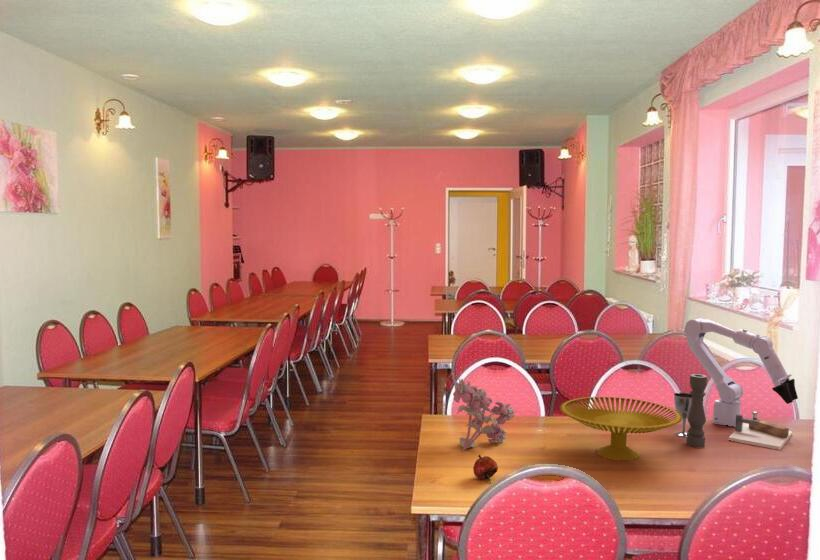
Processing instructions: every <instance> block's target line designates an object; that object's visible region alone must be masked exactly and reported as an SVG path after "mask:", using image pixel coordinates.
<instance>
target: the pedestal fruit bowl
mask: <svg viewBox="0 0 820 560" xmlns="http://www.w3.org/2000/svg"><path fill="white" fill-rule="evenodd" d="M609 398H610V399H609ZM604 399H605V400H604ZM600 401H601V402H600ZM605 401H606V402H605ZM596 402H597V403H596ZM615 402H616V403H615ZM635 402H636V403H635ZM588 403H589V404H588ZM640 403H641V404H640ZM593 404H594V405H593ZM606 404H607V405H606ZM615 404H616V407H615ZM624 404H625V407H624ZM629 404H630V406H629ZM639 404H640V405H639ZM645 404H646V405H645ZM644 405H645V406H644ZM633 407H634V408H633ZM658 407H659V408H658ZM628 408H629V409H628ZM559 410H560V411H561V413H563V414H564V415H565V416H567V417H569V418H571V419H572V420H574V421H575V422H576V421H577V422H579V424H582V425H584V426H586V427H590V428H591V429H595V430H601V432H602V431H603V432H604V431H605V432H609V433H610V444H608V445H606V446H603V447H600V448H598V449H597V450H596V453H597V454H598V455H599V456H600V457H602V458H604V459H609V460H612V461H620V460H630V461H634V459H635V460H638V459H639V458H640V454H639V452H637V451H636V450H634V449H633V448H630V447H629V446H627V437H628V435H627V434H629V433H630V434H635V435H637V434H647V433H653V432H657V431H659V430H663V429H666V428H670V427H673V426H675V425H677V424H680V422H682V417H683V416H682V415H680V414H681V413H678V412H677V411H676V409H674V408H672V407H670V406H667V405H663V404H662V403H660V404H659V403H658V402H653V401H648V400H644V399H637V398H630V397H629V398H627V397H621V396H620V397H617V396H588V397H587V396H586V397H579V398H577V397H576V398H571V399H569V400H565V401H564V402H563V403H561V404H560V405H559ZM637 458H638V459H637Z"/></svg>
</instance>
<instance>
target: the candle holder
mask: <svg viewBox="0 0 820 560" xmlns="http://www.w3.org/2000/svg"><path fill="white" fill-rule="evenodd" d="M689 385H690V388H691V391H689V393H690V394H691V396H692V404H691V407H690V411H689V414H688V418H687V420H686V421H687V422H688V424H689V428H688V429H687V432H688V434H687V437H685V438H686V439H685V440H686V446H688V445H689V447H691V446H693V447H692V448H696V447H701V448H704V447H703V446H705V444H706V443H705V442H706V436H705V434H706V433H705V431H704V429H703V428H704V425H705V424H706V420H707V418H706V413H705V408H704V407H705V406H704V397H706V395H707V394H706V392H705V390H706V388H707V386H708V376H707V375H705V374H699V373H690V375H689Z"/></svg>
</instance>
